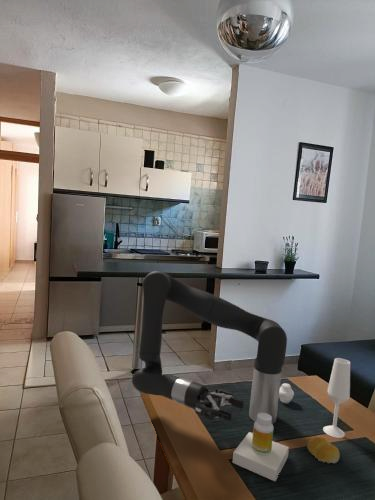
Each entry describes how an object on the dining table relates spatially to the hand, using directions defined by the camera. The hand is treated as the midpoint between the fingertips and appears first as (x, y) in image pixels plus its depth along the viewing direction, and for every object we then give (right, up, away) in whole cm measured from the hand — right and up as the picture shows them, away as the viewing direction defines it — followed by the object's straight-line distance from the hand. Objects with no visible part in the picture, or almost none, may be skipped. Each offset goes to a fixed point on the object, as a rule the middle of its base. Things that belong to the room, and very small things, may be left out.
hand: (237, 410), depth 104 cm
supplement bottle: (+6, -9, -3) cm, 12 cm away
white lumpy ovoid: (+22, -11, +32) cm, 41 cm away
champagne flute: (+34, -13, +14) cm, 39 cm away
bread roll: (+25, -14, +2) cm, 29 cm away
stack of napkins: (+6, -12, -3) cm, 14 cm away
